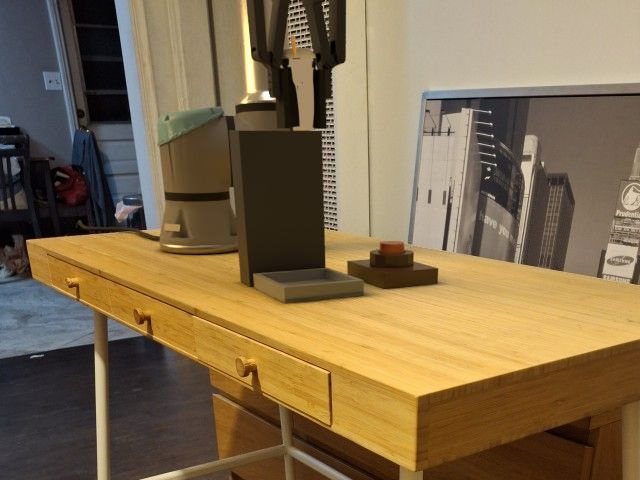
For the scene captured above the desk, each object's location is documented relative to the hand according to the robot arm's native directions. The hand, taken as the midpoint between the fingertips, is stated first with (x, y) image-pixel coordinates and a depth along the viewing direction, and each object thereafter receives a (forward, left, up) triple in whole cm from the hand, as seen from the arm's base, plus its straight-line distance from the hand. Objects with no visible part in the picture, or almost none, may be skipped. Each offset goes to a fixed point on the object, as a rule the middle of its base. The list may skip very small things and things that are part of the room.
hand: (301, 128), depth 96 cm
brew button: (-3, +15, -17) cm, 23 cm away
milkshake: (0, 0, 0) cm, 0 cm away
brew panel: (-3, +15, -20) cm, 25 cm away
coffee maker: (-3, 0, -20) cm, 21 cm away
